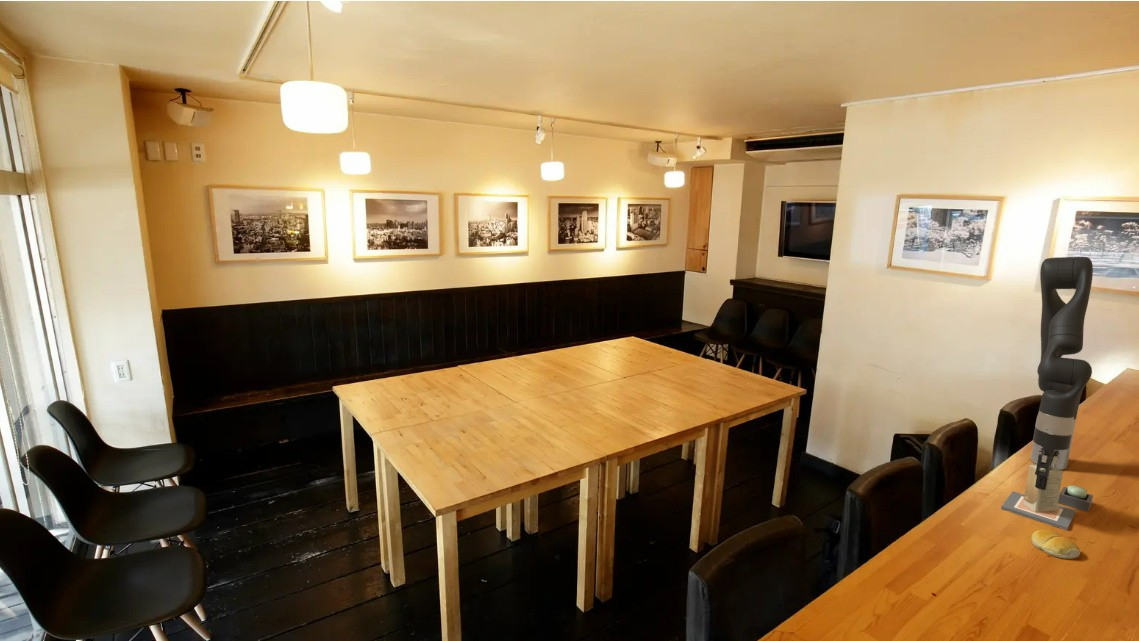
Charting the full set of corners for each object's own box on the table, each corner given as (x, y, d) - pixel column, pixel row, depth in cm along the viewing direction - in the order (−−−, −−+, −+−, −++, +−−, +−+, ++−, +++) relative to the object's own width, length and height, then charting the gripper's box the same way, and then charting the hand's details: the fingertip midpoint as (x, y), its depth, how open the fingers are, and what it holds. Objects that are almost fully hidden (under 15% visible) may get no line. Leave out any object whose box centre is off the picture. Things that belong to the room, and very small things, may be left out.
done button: (1068, 489, 158) (1069, 484, 158) (1086, 495, 155) (1088, 489, 155) (1065, 494, 156) (1066, 488, 155) (1084, 499, 153) (1085, 493, 152)
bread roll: (1049, 537, 140) (1052, 523, 140) (1085, 558, 132) (1088, 543, 131) (1021, 539, 139) (1023, 525, 138) (1055, 561, 131) (1058, 546, 130)
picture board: (1012, 493, 161) (1012, 490, 161) (1075, 512, 151) (1076, 509, 151) (1001, 508, 153) (1001, 505, 153) (1067, 530, 143) (1067, 527, 143)
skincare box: (1043, 503, 154) (1050, 463, 152) (1057, 512, 150) (1065, 471, 147) (1021, 504, 154) (1028, 464, 151) (1034, 512, 150) (1041, 471, 147)
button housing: (1061, 495, 160) (1063, 486, 160) (1091, 504, 155) (1093, 495, 155) (1057, 502, 156) (1059, 494, 156) (1088, 512, 151) (1089, 502, 151)
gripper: (1041, 418, 155) (1031, 470, 158) (1029, 431, 146) (1020, 486, 149) (1076, 426, 149) (1066, 480, 152) (1067, 440, 140) (1056, 497, 143)
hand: (1043, 483), depth 150 cm, fingers open, 8 cm apart
